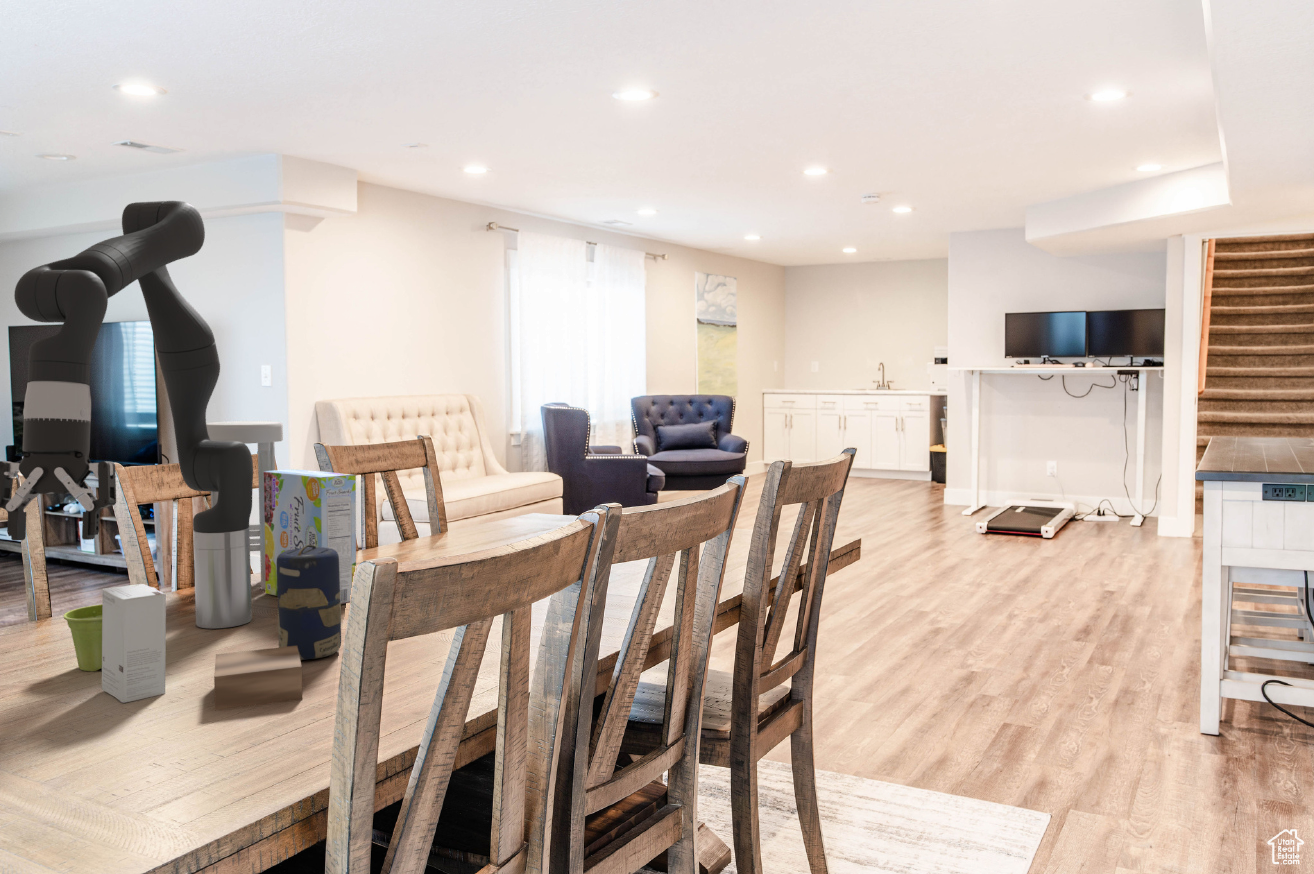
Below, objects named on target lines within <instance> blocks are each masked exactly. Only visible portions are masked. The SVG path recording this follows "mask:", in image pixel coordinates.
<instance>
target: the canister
mask: <svg viewBox="0 0 1314 874" xmlns="http://www.w3.org/2000/svg"><path fill="white" fill-rule="evenodd" d="M277 592H278V596H277V632H278V648H279V647H288V646H297V647H298V652H299V657H300V661H303V660H313V659H314V660H315V659H321V658H325V657H328V656H331V655H334V654H335V653H337V652H338V651H339V650H340V648H341V645H342V624H341V623H342V607H341V606H342V604H341V600H340V599H341V597H340V571H339V555H338V553H337V552H336V551H335V550H334V549H331V548H324V547H316V546H314V545H306V546H305V547H303V548H297V549H292V550H287V551H284V552H282V553H281V554H279V555H278V557H277Z"/></svg>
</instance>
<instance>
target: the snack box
mask: <svg viewBox="0 0 1314 874" xmlns="http://www.w3.org/2000/svg"><path fill="white" fill-rule="evenodd" d="M356 480H357V475H356V474H348V473H340V472H333V471H332V472H331V471H330V472H329V471H323V470H308V469H294V468H293V469H277V470H276V469H275V470H274V471H264V512H265V575H266V581H265V586H266V589H265V594H267V595H271V596H275V597H278V592H277V557H278V555H279V554H281V553H282V552H284V551H287V550H292V549H297V548H303V547H305V546H306V545H314V546H316V547H324V548H331V549H334V550H335V551H336V552H337V553H338V555H339V571H340V597H341V599H340V600H341V605H345V604H349V603H350V595H351V588H352V582H353V576H354V572H355V566H356V567H357V518H356V517H357V515H356V514H357V509H356V508H357V506H356V505H357V504H356V503H357V500H356V499H357V496H356V495H357V491H356V489H357V481H356ZM350 604H351V603H350Z"/></svg>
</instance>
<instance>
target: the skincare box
mask: <svg viewBox="0 0 1314 874" xmlns="http://www.w3.org/2000/svg"><path fill="white" fill-rule="evenodd" d="M101 591H102V592H101V593H102V594H101V595H102V596H101V598H102V604H103V605H102V668H101V691H103V692H105V693H106V694H109V695H111V696H113V697H114V698H116V699H117V700H118V701H119V702H121V703H123V704H124V703H129V702H135V701H139V700H143V699H148V698H152V697H157V696H160V695H164V694H166V648H167V647H166V645H167V644H166V642H167V640H166V635H167V634H166V632H167V631H166V629H167V628H166V627H167V623H166V622H167V619H166V618H167V614H166V613H167V594H166V593H164V592H162V591H161V590H158V589H157V588H156V587H153V586H149V585H147V584H144V583H138V584H137V583H136V584H129V585H121V586H112V587H106V588H102V589H101Z"/></svg>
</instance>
